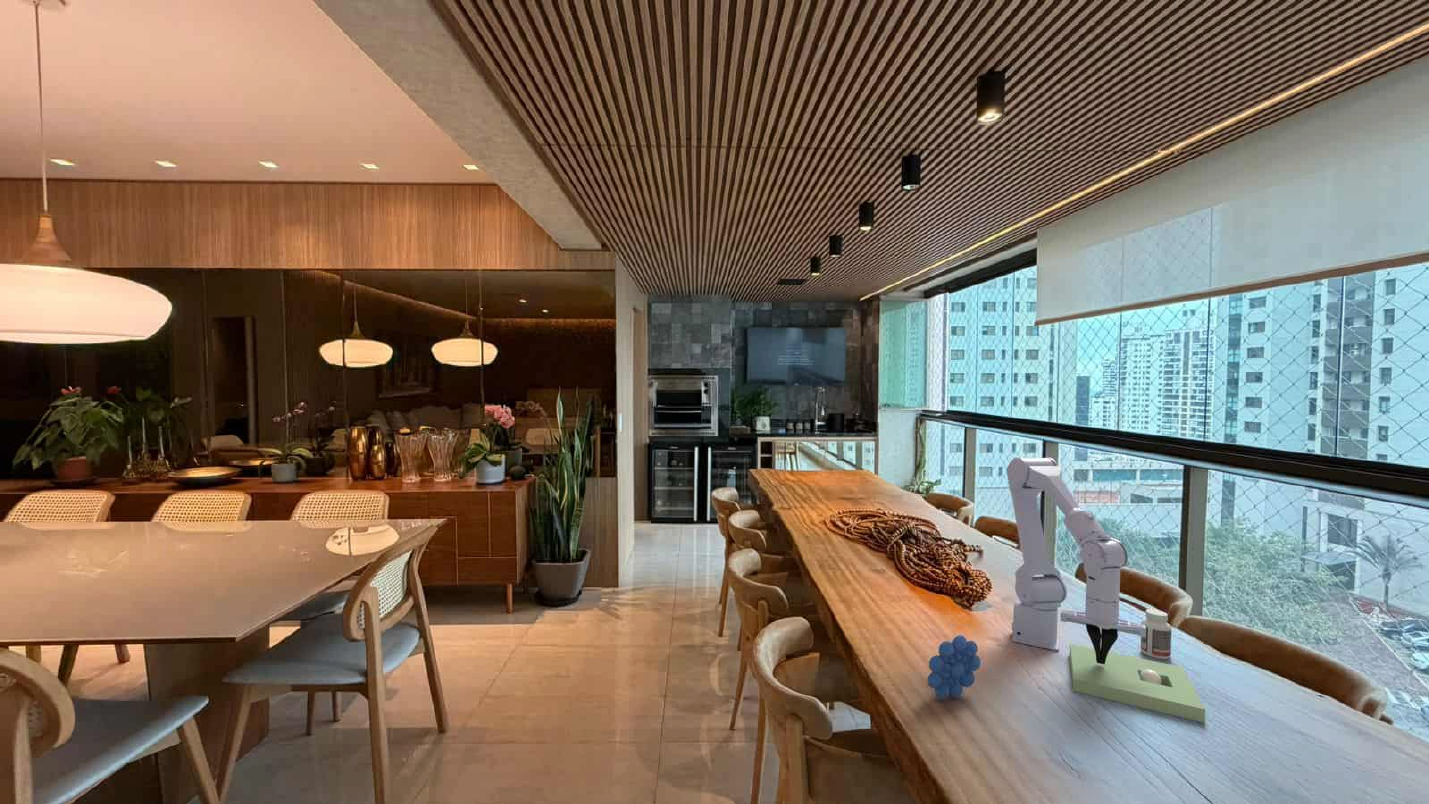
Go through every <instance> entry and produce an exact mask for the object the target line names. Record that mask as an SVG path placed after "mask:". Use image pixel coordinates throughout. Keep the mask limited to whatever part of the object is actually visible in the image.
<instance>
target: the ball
mask: <svg viewBox="0 0 1429 804" xmlns="http://www.w3.org/2000/svg"><path fill="white" fill-rule="evenodd" d="M1140 679H1141V680H1142V681H1146V682H1151V683H1155V684H1159V685H1161V683H1162V681H1161V678H1160V676H1159V675H1158V674H1157V673H1156V672H1155V671H1153V670H1148V669H1147V670H1143V671H1142V672H1141V673H1140Z"/></svg>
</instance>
